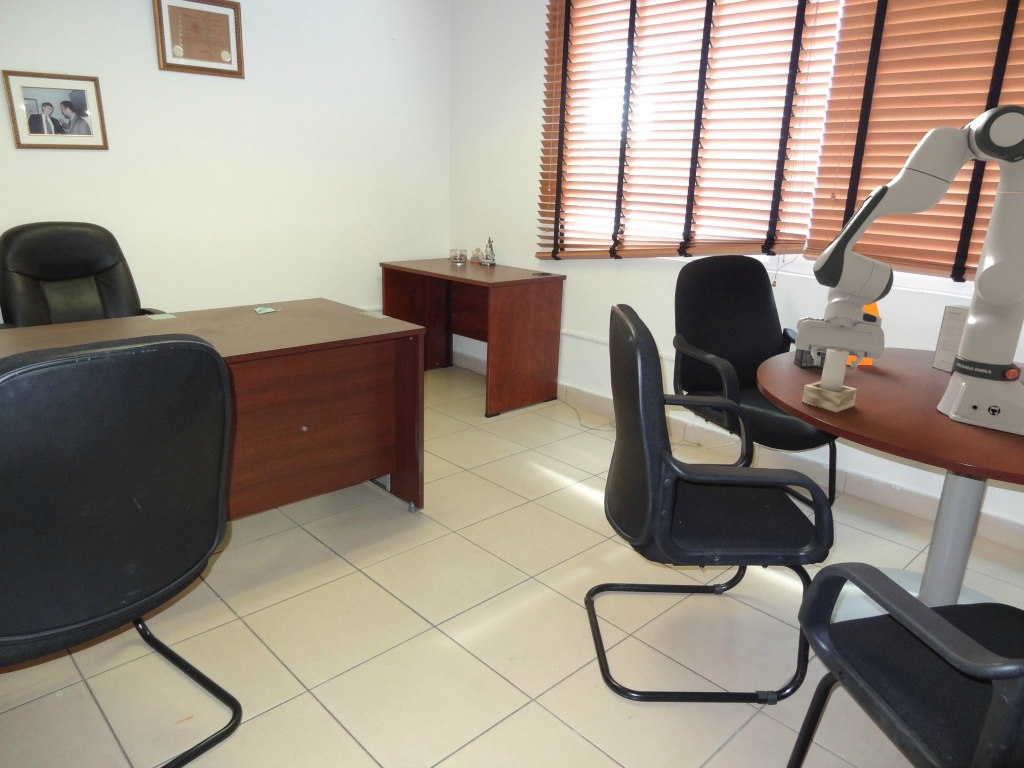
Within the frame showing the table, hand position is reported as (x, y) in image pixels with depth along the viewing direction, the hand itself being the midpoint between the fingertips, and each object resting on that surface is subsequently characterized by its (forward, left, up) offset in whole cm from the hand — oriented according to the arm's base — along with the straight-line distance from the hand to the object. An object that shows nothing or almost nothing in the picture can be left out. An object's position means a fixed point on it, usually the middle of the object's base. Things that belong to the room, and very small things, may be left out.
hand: (834, 366), depth 163 cm
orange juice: (+18, -51, -10) cm, 55 cm away
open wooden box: (0, -1, -10) cm, 10 cm away
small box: (+22, -35, -10) cm, 42 cm away
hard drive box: (-7, -70, -10) cm, 71 cm away
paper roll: (0, -1, -8) cm, 8 cm away
